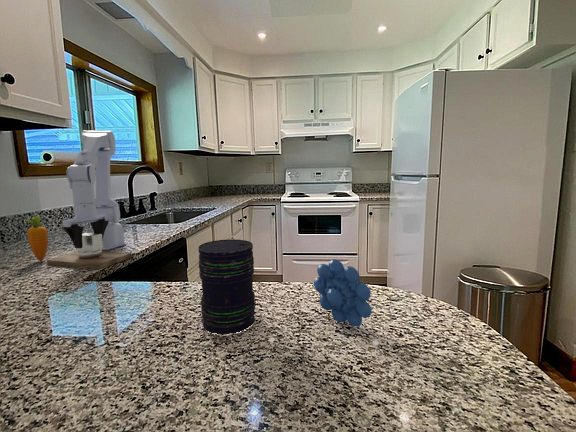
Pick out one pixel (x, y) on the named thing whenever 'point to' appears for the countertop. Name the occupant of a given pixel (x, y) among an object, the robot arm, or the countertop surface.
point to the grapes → (343, 292)
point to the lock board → (89, 260)
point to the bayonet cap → (90, 245)
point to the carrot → (37, 238)
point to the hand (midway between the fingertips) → (89, 245)
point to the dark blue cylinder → (227, 285)
